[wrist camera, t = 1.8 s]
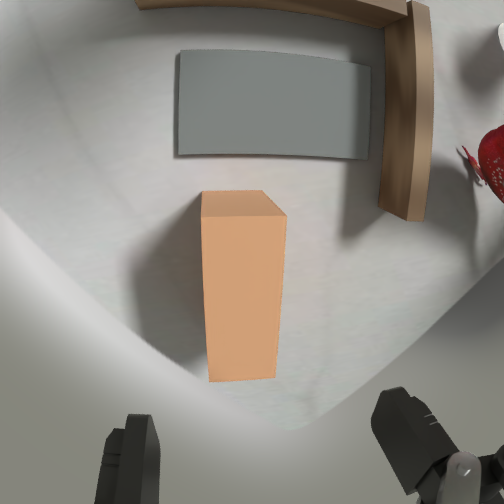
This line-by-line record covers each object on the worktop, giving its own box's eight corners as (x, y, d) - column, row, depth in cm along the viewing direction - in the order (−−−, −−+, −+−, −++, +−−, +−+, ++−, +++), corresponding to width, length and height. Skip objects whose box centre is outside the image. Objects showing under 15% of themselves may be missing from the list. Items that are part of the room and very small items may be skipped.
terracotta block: (202, 190, 21) (200, 217, 15) (261, 190, 22) (286, 216, 15) (206, 320, 25) (209, 382, 18) (257, 318, 25) (275, 377, 19)
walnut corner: (141, -8, 15) (130, -32, 12) (399, 19, 18) (428, 6, 14) (136, 208, 21) (122, 224, 17) (393, 207, 23) (423, 221, 20)
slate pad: (181, 51, 17) (180, 50, 17) (368, 67, 19) (370, 66, 19) (178, 154, 20) (178, 154, 20) (365, 159, 22) (367, 160, 21)
